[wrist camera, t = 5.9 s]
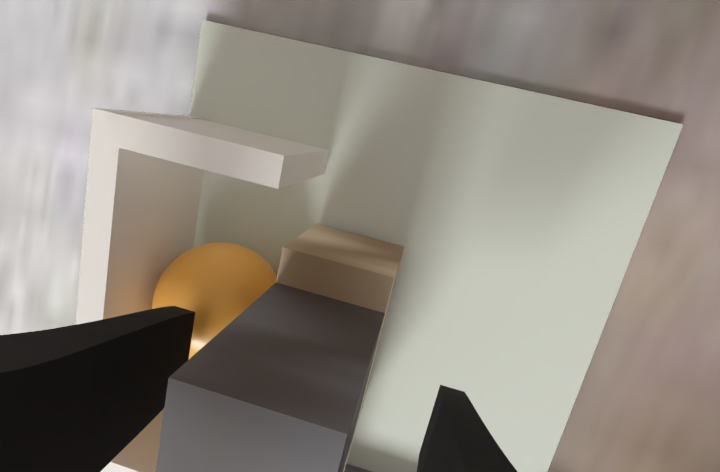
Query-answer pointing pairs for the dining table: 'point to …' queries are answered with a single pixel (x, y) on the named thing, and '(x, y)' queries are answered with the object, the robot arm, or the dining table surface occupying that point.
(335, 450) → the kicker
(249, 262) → the ball
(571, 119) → the mat
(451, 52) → the dining table surface
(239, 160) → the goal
